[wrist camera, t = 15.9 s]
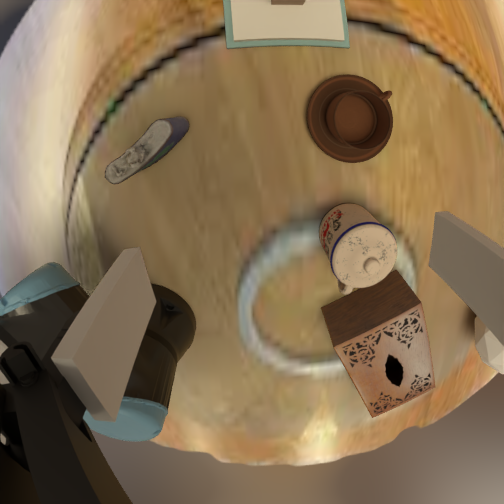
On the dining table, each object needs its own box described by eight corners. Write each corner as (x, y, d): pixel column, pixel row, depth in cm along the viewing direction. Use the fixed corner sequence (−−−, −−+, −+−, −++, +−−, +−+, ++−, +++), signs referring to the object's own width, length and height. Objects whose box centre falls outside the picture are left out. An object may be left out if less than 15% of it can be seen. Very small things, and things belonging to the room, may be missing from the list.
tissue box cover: (418, 354, 58) (435, 387, 49) (360, 383, 61) (372, 417, 52) (395, 268, 47) (421, 302, 38) (320, 306, 50) (333, 347, 42)
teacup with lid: (324, 196, 42) (348, 227, 31) (380, 206, 42) (417, 238, 32) (306, 270, 47) (321, 317, 36) (359, 276, 48) (384, 320, 37)
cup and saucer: (329, 60, 33) (342, 52, 28) (400, 106, 36) (421, 108, 30) (289, 133, 38) (296, 137, 32) (362, 175, 40) (379, 186, 35)
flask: (181, 112, 36) (156, 114, 26) (196, 129, 37) (176, 138, 27) (129, 158, 39) (91, 178, 29) (142, 175, 40) (109, 199, 30)
